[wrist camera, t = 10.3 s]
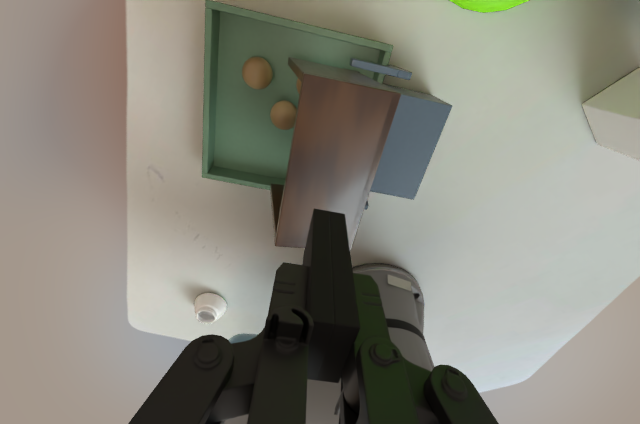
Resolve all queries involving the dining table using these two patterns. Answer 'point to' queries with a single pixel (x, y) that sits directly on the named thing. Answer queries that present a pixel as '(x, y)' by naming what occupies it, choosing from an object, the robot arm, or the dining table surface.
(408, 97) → the stand
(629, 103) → the milk
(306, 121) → the brown wooden box
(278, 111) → the wooden ball
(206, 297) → the lidless jar
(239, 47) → the tray
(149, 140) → the dining table surface
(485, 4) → the wineglass
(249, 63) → the wooden ball
